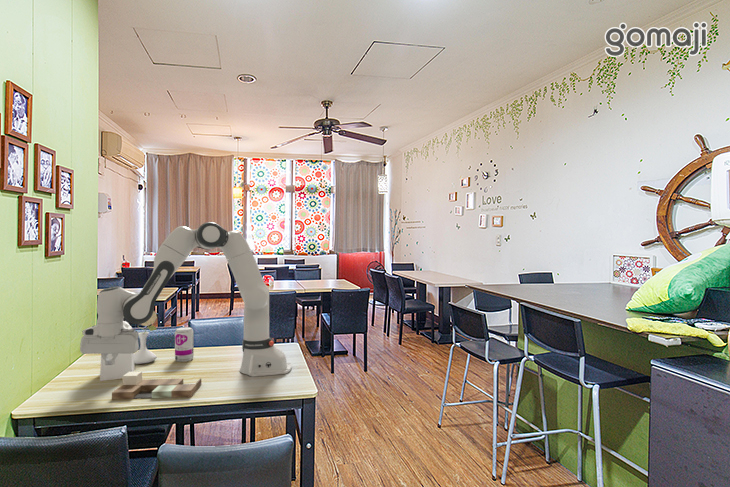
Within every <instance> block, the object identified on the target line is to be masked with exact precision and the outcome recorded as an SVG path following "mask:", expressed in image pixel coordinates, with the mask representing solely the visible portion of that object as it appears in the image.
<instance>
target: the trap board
mask: <svg viewBox="0 0 730 487" xmlns="http://www.w3.org/2000/svg"><path fill="white" fill-rule="evenodd" d="M201 386H202V378H201V377H200V378H199V379H198V380H197V381H196V382H195V383H184V378H157V379H156V378H155V379H154V378H153V379H151V378H150V379H149V378H148V379H142V381H141V382H139V383H138V384H137V385H123V383H122V384H121V385H120V386H119V387H117V388H116V389H114V391H112V392H111V400H131V399H137V398H141V399H169V398H192V397H193V395H194V394H195V393H196V392H197V391H198V389H199V388H201Z"/></svg>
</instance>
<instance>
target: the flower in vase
mask: <svg viewBox="0 0 730 487" xmlns="http://www.w3.org/2000/svg"><path fill="white" fill-rule="evenodd" d="M157 318H158V315H157V312H156V311H155V310H154V311H153V314H152V316H151V318H150V319H149V320H148V321H147V322H145V323H142V324H139V325H141V326H144V327H147V328H146V329H145V328H142V327H139V326H138V329H141V330H143V332H142V331H141V332H138V339H139V342H140V346H139V349H138V351H137V352H135V353H134V365H142V364H148V363H151V362H153V361H155V360H156V359H157V357H158V356H157V355H156V354H155V353H154V352H152V351H151V350H150V349H148V348H147V344H146V343H147V337H148V335H149V334H150V332H153V331H157V330H158V328H156V326H155V325H153V324H154V323H155V321H156V320H157ZM147 330H149V331H150V332H149V331H147Z"/></svg>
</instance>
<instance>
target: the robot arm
mask: <svg viewBox="0 0 730 487" xmlns="http://www.w3.org/2000/svg"><path fill="white" fill-rule="evenodd" d="M195 248H197V249H202V250H207V251H209V250H213V249H216V248H218V249H220V250H221V251H222V252H223V254H224V257H225V260H226V261H227V263H228V266H229V269H230V271H231V273H232V275H233V277H234V280H235V282H236V286H237V289H238V290H239V291H238V292H239V294H240V297H241V298H242V299H241V300H242V301H243V303H244V304H243V306H244V308H243V339H242V344H241V345H242V348H241V349H242V358H241V359H242V360H241V365H240V368H239V372H240V373H242V374H244V375H248V376H249V377H263V376H273V375H274V376H275V375H284V374H288V373H290V371H291V370H292V368H293V367H292V364H291V363H290V362H288V361H287V356H286V354H285V352H283V351H282V350H280V348H277V347H276V346H275V345H274V344H275V340H274V338H272V337H270V289H269V287H268V286H267V284H266V283H265V281H264V279H263V276H262V274H261V271H260V268H259V266H258V263H257V261H256V258H255V256H254V254H253V252H252V250H251V248H250V245H249V243H248V241H247V240H246V239H245V237H244V236H243V234H242V232H240V231H238V230H230V231H227V230H226V229H225V228H223V227H222V226H221V225H220V224H218V223H216V222H213V221H212V222H211V221H207V222H204V223H202V224H201V225H200V226H199V227H198V228H195V229H192V228H190V227H187V226H182V225H181V226H177V227H176V228H174V230H172V231H171V233H169V235H168V236H167V237H166V238H165V239H164V241H162V243H161V245H160V246H159V248H158V250H156V253H155V255H154V257H153V258H154V259H153V269H152V272H151V275H150V276H149V278H148V279H147V281H146V282H145V284H144V286H143V288H142V289H141V290H140V292H139V293H135V292H132V291H129V290H126V289H125V288H123V287H122V286H110V287H106V288H104V289H102V290H101V291H99V292H98V296H97V299H96V300H97V301H96V313H97V320H96V324H95V325H92V326H90V327H87V328H84V329H83V330H82V335H83V336H82V337H81V339H80V344H79V345H80V346H79V351H80V353H81V354H83V355H85V354H86V355H89V354H90V355H99V354H100V355H101V354H102V358H103V359H104V361H105V365H114V364H115V359H116V357H117V356H118V354H133V353H134V354H135V353H136V352H138V351H139V349H140V346H139V336H138V333H139V332H138V331H137V330H136V329H134V328H133V329H123V321H126V322H127V323H128V324H132V325H140V324H142V323H145V322H147V321H148V320H149V319H150V318H151V316H152V314H153V311H154V312H155V304H156V302H157V300H158V298H159V296H160V295H161V293H162V291H163V290H164V289H165V287H166V285H167V284H168V282H169V281H170V279H171V278H172V276H174V274H175V273H176V272H177V271H178V270H179V268H181V266H182V265H183V264H184V263H185V261H186V260H187V258H188V257H189V255H190V253H191V252H192V251H194V249H195ZM108 354H112V356H113V358H112V359H108V357H107V355H108Z"/></svg>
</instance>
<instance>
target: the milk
mask: <svg viewBox="0 0 730 487" xmlns="http://www.w3.org/2000/svg"><path fill="white" fill-rule="evenodd" d="M123 329H134V328H133V327H132V326H131V325H130V323H129V322H128V321H126V320H123ZM134 354H135V353H133V354H118V356H117V357H116V359H115V364H114V365H105V361H104V359H103V358H102V354H100V371H99V372H100V373H99V381H100V382H103V381H112V380H120V379H121V378H122V379H123V376H124V375H125V374H126V373H128V372H135V366H136V364H134ZM107 357H108V359H112V358H113V356H112V354H108V355H107Z"/></svg>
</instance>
